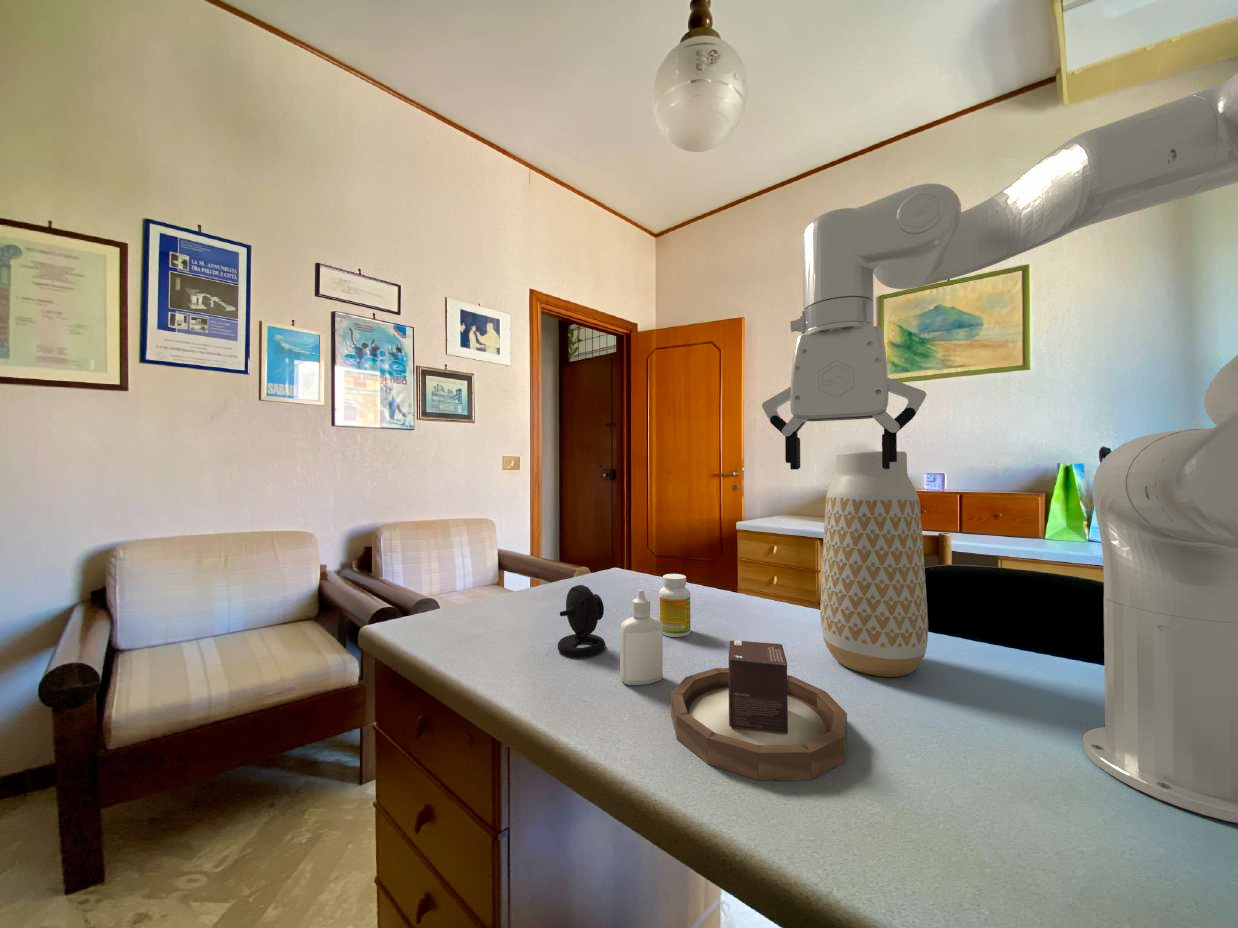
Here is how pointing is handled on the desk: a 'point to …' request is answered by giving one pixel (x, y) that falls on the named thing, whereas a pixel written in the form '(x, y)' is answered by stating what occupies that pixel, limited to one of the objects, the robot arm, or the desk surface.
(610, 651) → the desk surface
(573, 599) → the webcam
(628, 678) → the eye dropper bottle
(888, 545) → the vase
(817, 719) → the round tray
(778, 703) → the box
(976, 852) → the desk surface
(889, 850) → the desk surface
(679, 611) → the supplement bottle
